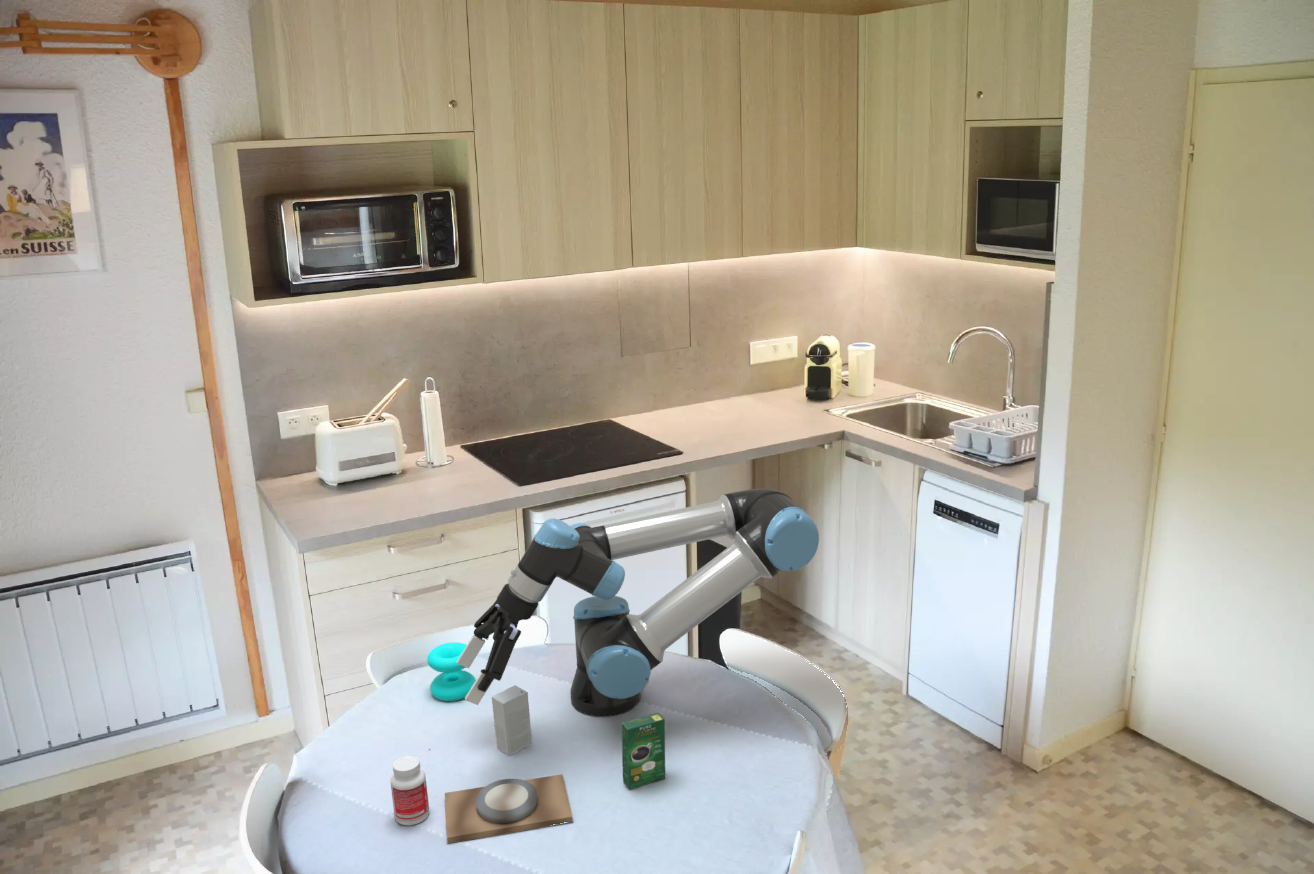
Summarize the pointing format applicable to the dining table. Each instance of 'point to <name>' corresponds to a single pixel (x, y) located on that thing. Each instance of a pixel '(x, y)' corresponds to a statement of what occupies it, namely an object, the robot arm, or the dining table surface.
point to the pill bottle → (409, 791)
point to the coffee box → (643, 750)
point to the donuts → (449, 672)
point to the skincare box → (512, 720)
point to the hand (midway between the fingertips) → (466, 683)
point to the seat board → (506, 808)
